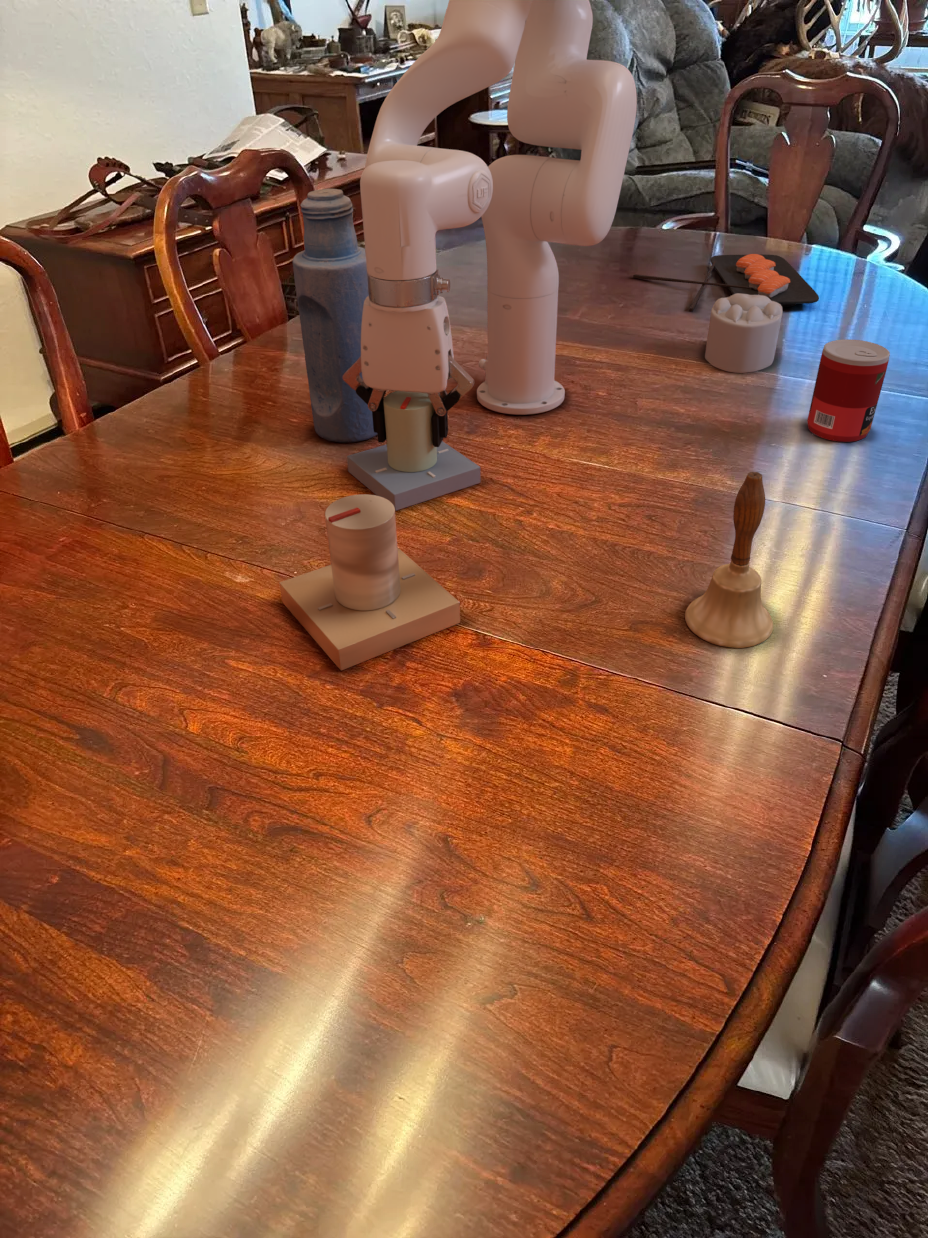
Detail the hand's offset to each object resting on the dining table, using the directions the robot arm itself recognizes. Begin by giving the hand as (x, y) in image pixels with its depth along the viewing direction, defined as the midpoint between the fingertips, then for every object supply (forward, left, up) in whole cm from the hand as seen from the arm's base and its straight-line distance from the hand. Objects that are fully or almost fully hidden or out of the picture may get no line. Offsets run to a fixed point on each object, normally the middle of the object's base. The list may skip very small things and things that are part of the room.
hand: (411, 438), depth 111 cm
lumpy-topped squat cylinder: (-5, +62, -5) cm, 62 cm away
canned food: (+21, +53, -5) cm, 57 cm away
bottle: (-17, 0, -5) cm, 18 cm away
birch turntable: (+22, -18, -5) cm, 29 cm away
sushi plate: (-32, +85, -5) cm, 91 cm away
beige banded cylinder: (+22, -18, -3) cm, 29 cm away
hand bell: (+43, +10, -5) cm, 44 cm away
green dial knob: (0, 0, -3) cm, 3 cm away
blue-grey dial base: (0, 0, -5) cm, 5 cm away
